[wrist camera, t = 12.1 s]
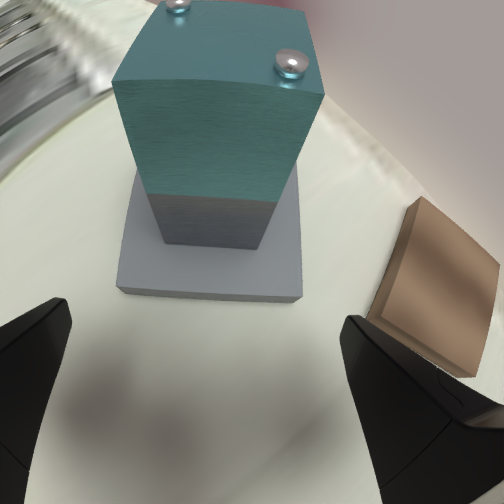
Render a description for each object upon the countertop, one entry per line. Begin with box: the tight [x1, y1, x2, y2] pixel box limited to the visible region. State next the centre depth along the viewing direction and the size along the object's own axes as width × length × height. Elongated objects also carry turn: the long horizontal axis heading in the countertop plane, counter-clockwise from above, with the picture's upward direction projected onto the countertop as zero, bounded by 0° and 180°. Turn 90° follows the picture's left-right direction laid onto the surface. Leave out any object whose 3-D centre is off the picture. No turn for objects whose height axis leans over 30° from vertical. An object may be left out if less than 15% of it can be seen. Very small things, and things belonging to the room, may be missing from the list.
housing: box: [111, 0, 325, 250], centre depth 12 cm, size 5×5×11 cm
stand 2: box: [366, 196, 500, 378], centre depth 18 cm, size 10×10×2 cm
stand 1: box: [116, 162, 303, 303], centre depth 18 cm, size 10×10×2 cm
